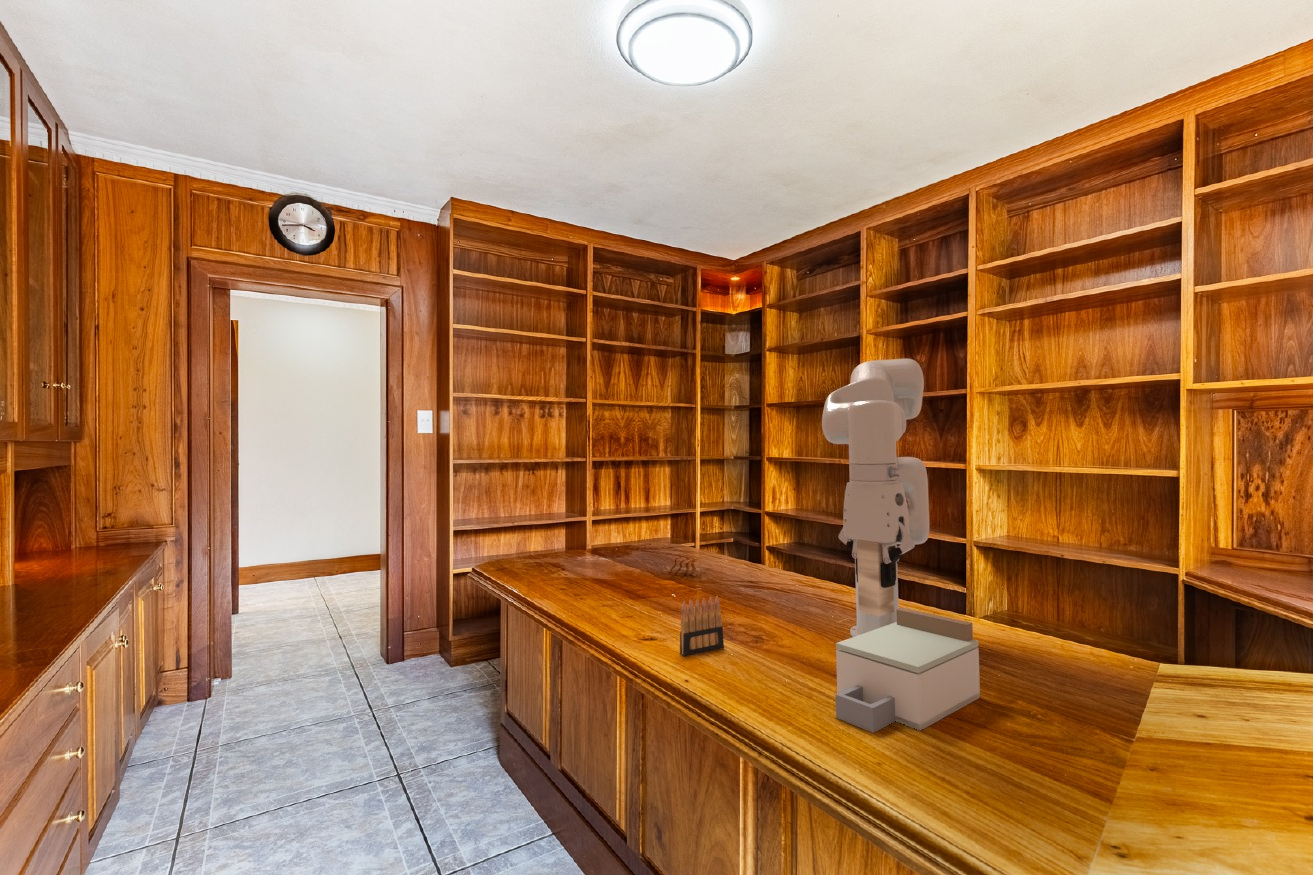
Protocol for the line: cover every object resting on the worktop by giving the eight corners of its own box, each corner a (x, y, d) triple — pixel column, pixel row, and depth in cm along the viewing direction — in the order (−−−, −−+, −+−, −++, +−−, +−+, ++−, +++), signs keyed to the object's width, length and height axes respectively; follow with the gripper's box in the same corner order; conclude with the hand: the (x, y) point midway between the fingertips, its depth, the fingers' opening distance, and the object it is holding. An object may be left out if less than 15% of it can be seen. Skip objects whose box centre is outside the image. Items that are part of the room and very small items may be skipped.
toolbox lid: (898, 626, 126) (897, 606, 126) (978, 645, 114) (977, 623, 114) (836, 648, 114) (835, 626, 114) (918, 673, 102) (917, 648, 102)
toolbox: (899, 672, 126) (898, 627, 126) (979, 697, 114) (978, 647, 114) (815, 709, 111) (813, 658, 111) (898, 742, 98) (896, 685, 98)
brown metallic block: (873, 607, 108) (871, 537, 108) (894, 611, 105) (892, 539, 105) (858, 611, 106) (856, 539, 106) (879, 616, 102) (877, 542, 102)
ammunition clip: (683, 656, 139) (682, 602, 139) (679, 654, 141) (678, 600, 141) (724, 648, 144) (722, 595, 144) (719, 645, 146) (718, 594, 146)
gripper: (932, 474, 101) (935, 589, 101) (845, 471, 114) (848, 572, 114) (905, 477, 96) (908, 597, 96) (818, 474, 110) (821, 579, 110)
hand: (875, 582), depth 105 cm, fingers closed on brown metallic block, 4 cm apart
